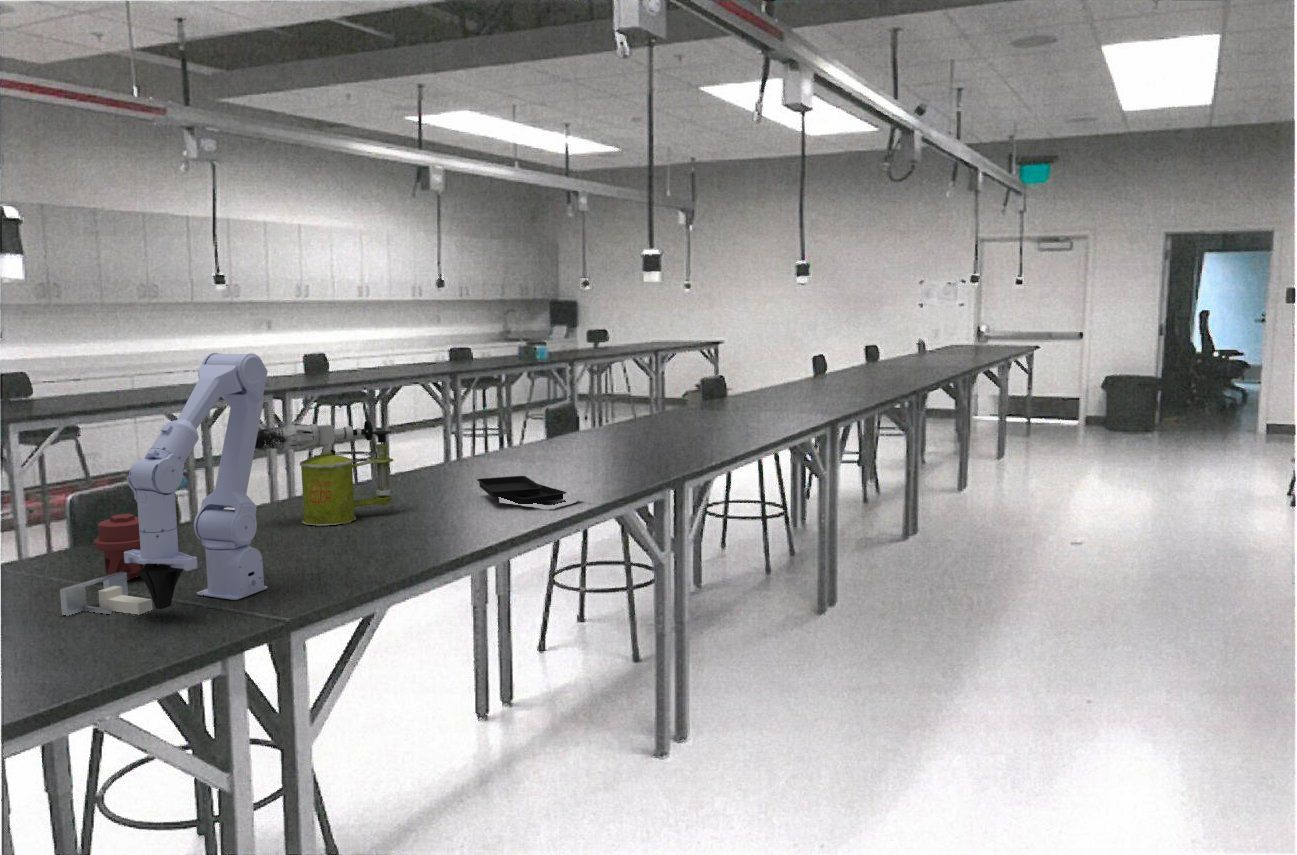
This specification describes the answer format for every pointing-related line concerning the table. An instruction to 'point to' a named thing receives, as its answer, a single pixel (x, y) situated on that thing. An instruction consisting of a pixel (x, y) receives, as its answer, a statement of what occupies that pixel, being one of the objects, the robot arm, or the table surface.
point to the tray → (520, 490)
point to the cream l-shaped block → (123, 601)
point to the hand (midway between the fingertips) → (163, 607)
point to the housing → (76, 594)
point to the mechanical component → (119, 543)
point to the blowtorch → (329, 469)
